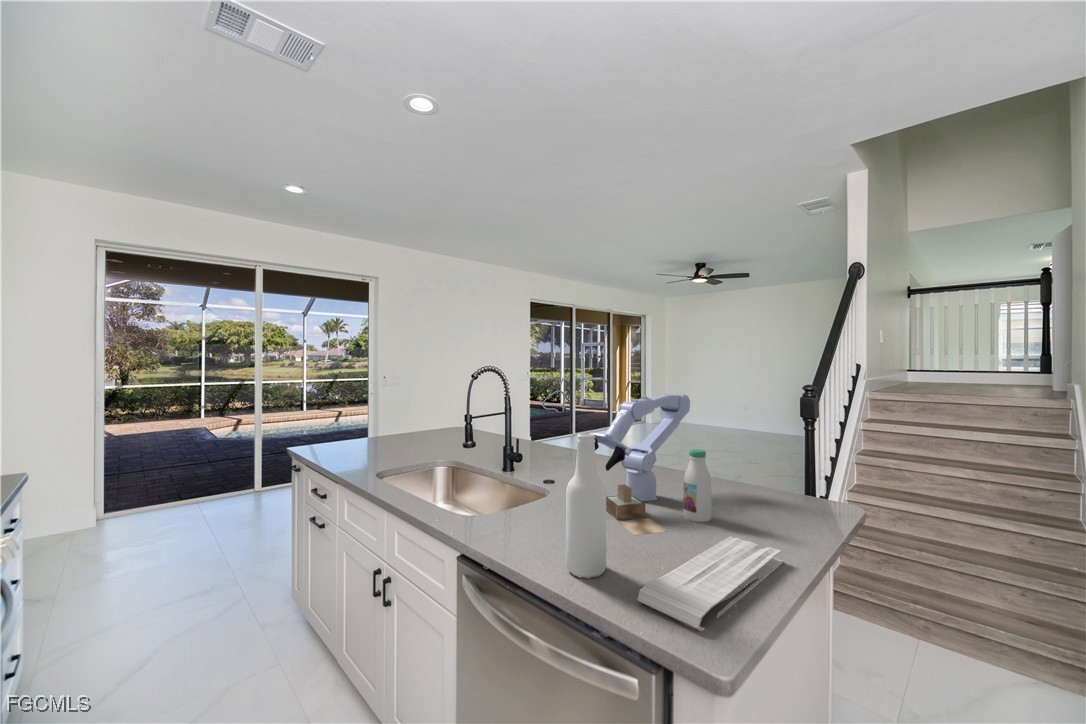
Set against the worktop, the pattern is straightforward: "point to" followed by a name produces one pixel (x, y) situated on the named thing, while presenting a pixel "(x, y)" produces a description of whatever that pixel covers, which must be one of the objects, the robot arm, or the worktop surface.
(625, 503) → the lid
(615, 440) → the robot arm
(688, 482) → the milk bottle
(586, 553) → the alcohol
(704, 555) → the hand towel
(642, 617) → the worktop surface
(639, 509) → the box
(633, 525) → the mat
